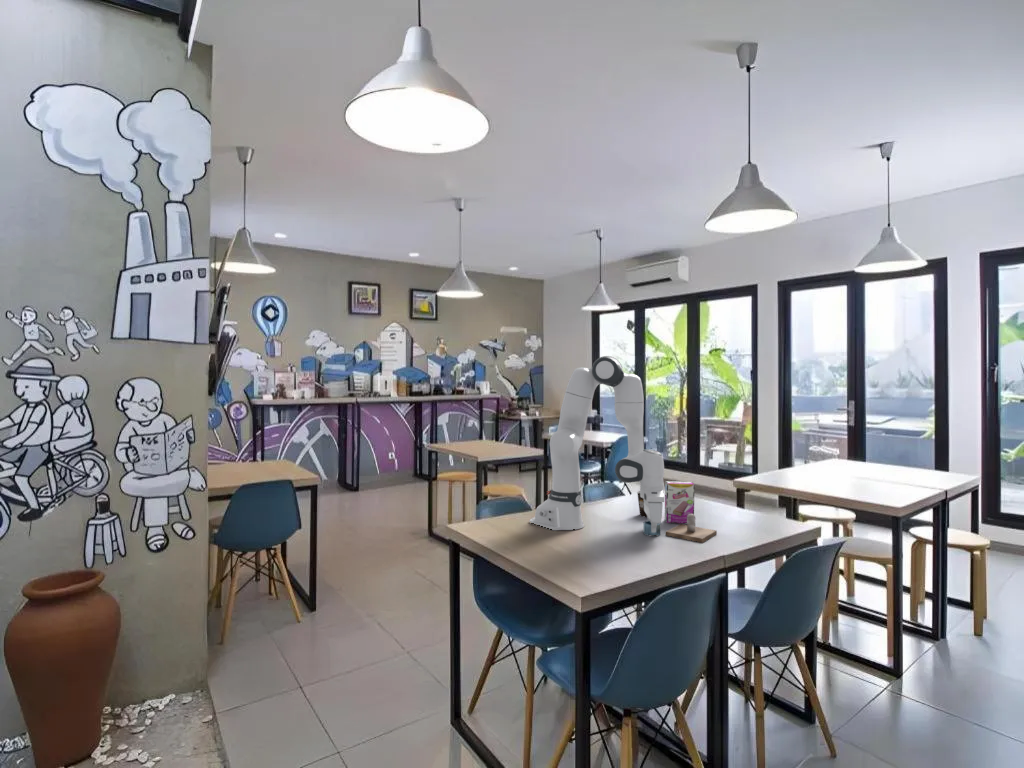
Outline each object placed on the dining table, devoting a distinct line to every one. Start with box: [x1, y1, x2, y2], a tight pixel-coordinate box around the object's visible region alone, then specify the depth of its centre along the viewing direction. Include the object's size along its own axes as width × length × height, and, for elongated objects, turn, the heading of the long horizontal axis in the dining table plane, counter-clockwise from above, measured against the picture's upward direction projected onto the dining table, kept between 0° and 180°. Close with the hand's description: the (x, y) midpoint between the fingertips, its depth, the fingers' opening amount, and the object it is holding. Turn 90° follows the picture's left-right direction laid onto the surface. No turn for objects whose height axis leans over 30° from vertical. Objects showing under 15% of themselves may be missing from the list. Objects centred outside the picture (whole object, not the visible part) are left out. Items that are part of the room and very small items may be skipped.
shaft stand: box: [665, 513, 718, 544], centre depth 201 cm, size 14×14×8 cm
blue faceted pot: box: [642, 520, 662, 536], centre depth 203 cm, size 6×6×4 cm
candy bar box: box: [664, 480, 696, 524], centre depth 220 cm, size 11×5×16 cm, turn 84°
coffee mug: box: [637, 490, 647, 518], centre depth 230 cm, size 12×9×10 cm
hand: (652, 529), depth 203 cm, fingers closed on blue faceted pot, 6 cm apart
